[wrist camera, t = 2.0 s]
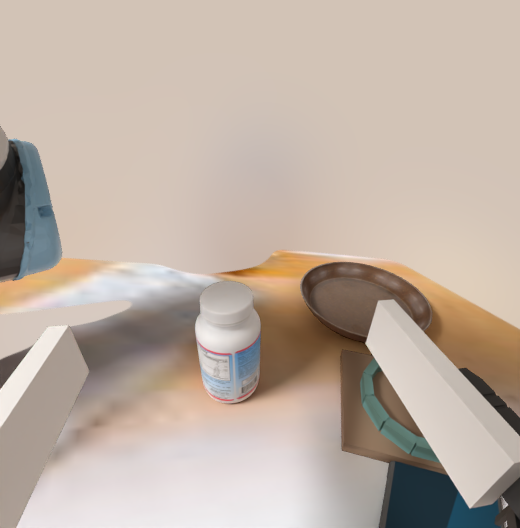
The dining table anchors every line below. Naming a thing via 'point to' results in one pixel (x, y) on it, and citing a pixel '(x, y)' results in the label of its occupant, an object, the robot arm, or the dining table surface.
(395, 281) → the plant saucer
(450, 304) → the dining table surface
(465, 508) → the smartphone
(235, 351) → the pill bottle
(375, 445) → the holder board
